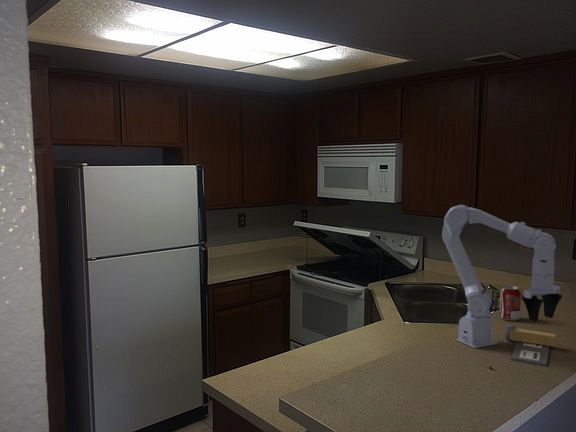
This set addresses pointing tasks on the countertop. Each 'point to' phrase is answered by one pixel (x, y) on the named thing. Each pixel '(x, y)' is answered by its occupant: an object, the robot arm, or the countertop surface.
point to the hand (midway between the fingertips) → (541, 318)
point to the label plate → (529, 352)
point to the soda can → (510, 303)
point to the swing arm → (529, 336)
